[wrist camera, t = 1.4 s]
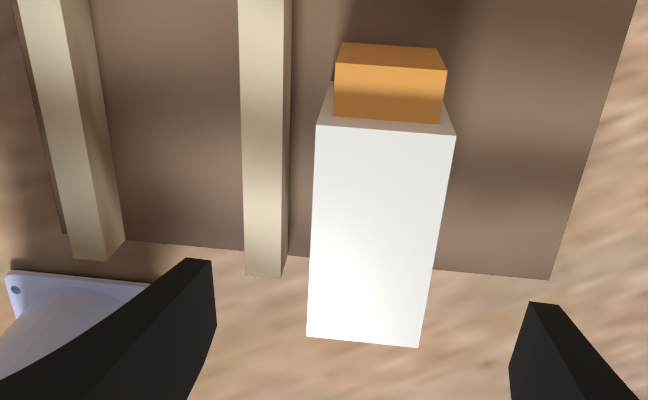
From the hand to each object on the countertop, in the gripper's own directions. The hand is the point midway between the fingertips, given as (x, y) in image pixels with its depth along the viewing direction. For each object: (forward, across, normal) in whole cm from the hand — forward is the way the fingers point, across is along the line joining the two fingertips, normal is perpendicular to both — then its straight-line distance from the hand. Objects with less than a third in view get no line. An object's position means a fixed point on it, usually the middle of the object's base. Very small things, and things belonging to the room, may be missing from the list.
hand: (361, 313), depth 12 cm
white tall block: (+10, 0, +2) cm, 10 cm away
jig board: (+10, +3, 0) cm, 11 cm away
